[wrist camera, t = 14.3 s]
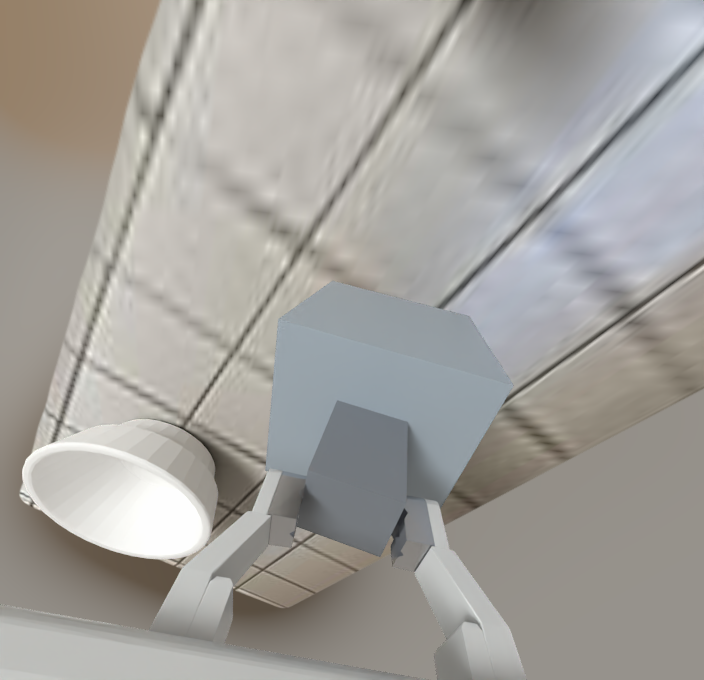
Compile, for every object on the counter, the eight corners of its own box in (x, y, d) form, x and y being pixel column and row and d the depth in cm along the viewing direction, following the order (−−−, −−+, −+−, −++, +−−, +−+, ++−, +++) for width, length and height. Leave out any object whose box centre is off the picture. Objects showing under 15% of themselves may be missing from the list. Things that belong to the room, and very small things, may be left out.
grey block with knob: (469, 316, 18) (567, 469, 7) (422, 422, 23) (435, 622, 11) (332, 280, 19) (218, 362, 8) (313, 389, 24) (223, 542, 12)
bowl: (209, 517, 46) (176, 577, 38) (78, 459, 41) (13, 514, 34) (267, 448, 37) (240, 507, 29) (110, 364, 32) (30, 409, 25)
